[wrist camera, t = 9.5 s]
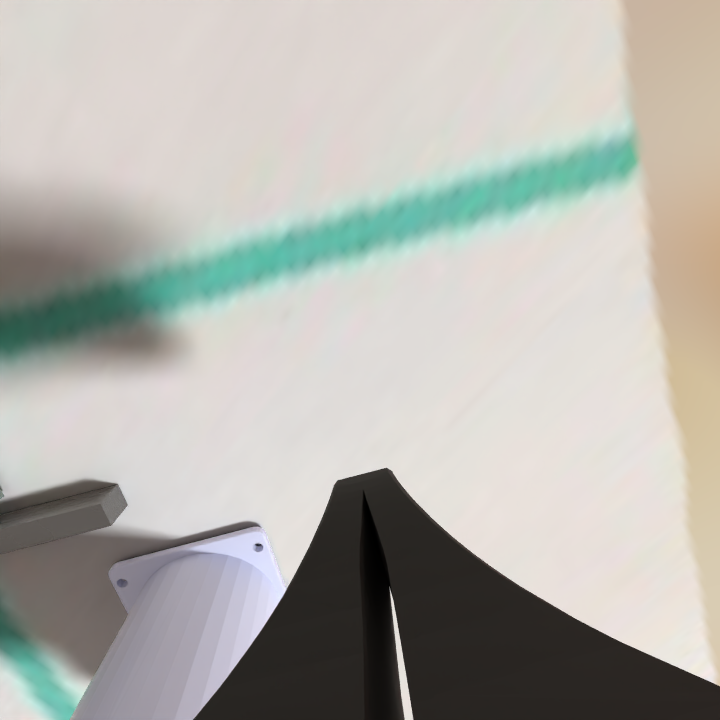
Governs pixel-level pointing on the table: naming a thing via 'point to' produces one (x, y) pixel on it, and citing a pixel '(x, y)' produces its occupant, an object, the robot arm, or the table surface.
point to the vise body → (60, 518)
